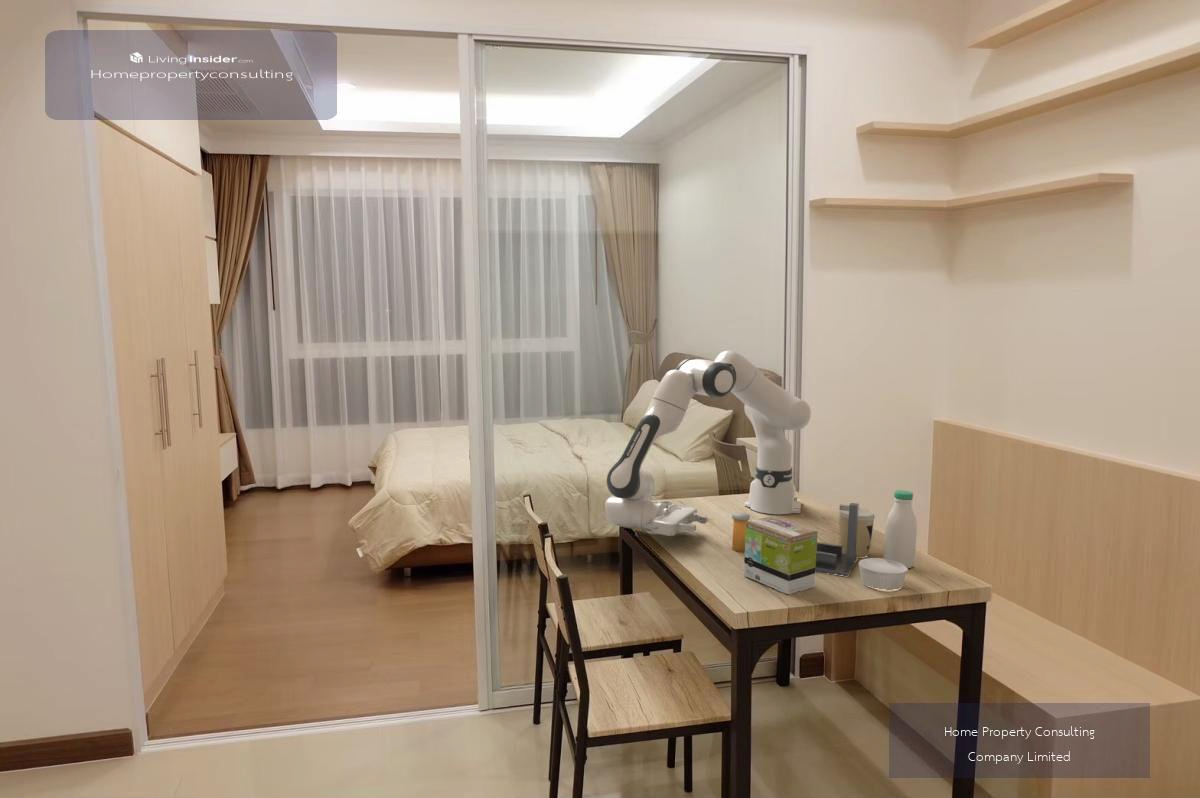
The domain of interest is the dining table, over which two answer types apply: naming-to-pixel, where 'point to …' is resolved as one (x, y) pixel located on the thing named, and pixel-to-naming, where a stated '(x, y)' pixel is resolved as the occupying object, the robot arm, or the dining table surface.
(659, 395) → the robot arm
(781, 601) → the dining table surface
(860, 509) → the coffee cup
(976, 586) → the dining table surface
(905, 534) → the milk bottle
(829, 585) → the dining table surface
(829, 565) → the keeper stand
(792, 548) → the tea box
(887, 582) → the ramekin
